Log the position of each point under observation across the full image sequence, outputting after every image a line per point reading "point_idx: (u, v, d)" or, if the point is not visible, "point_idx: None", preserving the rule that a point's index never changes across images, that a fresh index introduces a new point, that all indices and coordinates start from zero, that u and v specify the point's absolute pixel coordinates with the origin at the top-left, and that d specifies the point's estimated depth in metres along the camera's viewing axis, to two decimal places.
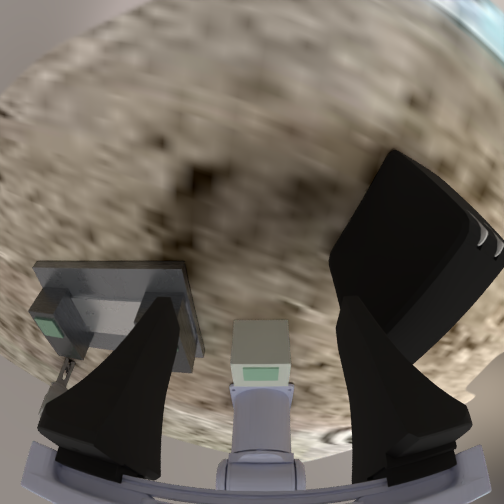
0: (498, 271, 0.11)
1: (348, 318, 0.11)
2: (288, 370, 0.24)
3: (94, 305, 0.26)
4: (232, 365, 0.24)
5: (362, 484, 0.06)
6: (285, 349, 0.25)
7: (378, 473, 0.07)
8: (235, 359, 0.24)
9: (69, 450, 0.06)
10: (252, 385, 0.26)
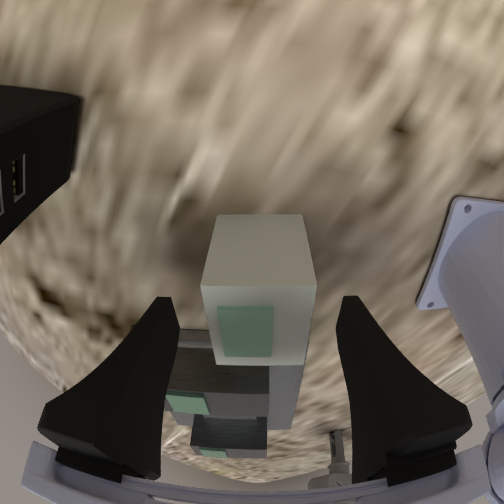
0: None
1: (348, 318, 0.11)
2: (232, 289, 0.10)
3: None
4: (221, 362, 0.13)
5: (362, 484, 0.06)
6: None
7: (378, 473, 0.07)
8: None
9: (69, 450, 0.06)
10: (303, 343, 0.12)
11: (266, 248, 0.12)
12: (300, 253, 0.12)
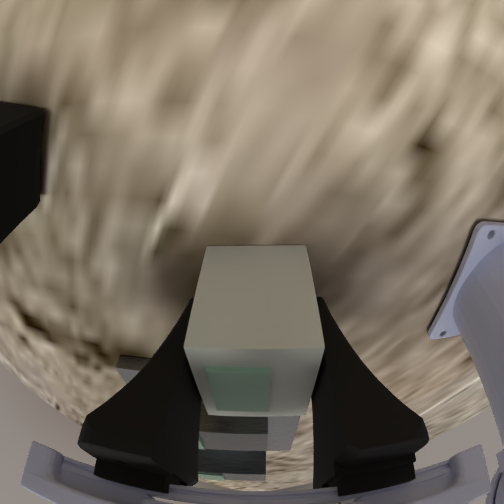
0: None
1: None
2: (222, 351, 0.08)
3: None
4: (214, 413, 0.11)
5: None
6: None
7: (331, 481, 0.07)
8: None
9: (109, 462, 0.06)
10: (306, 398, 0.10)
11: (263, 294, 0.10)
12: (305, 301, 0.10)
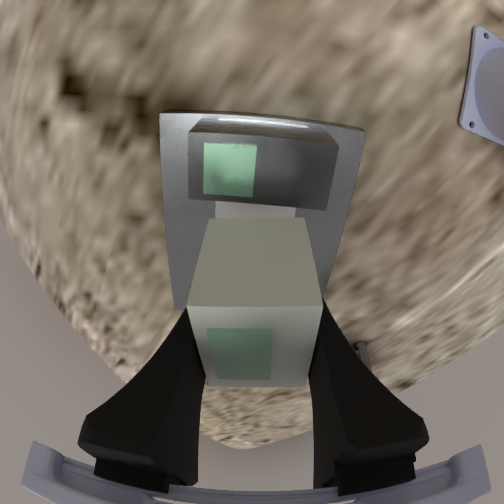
0: None
1: None
2: (223, 310, 0.09)
3: None
4: (214, 384, 0.12)
5: None
6: None
7: (331, 481, 0.07)
8: None
9: (109, 463, 0.06)
10: (305, 365, 0.11)
11: (263, 259, 0.10)
12: (303, 266, 0.10)
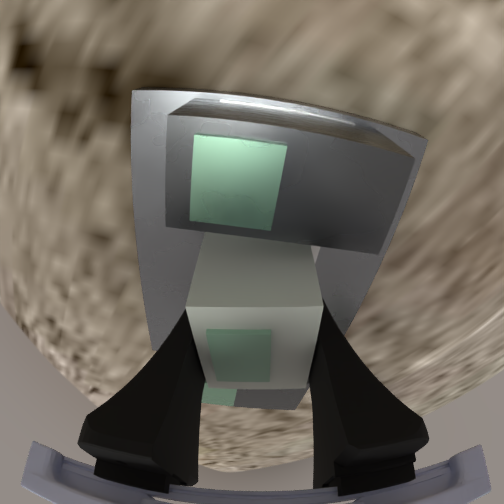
0: None
1: None
2: (223, 310, 0.09)
3: None
4: (214, 386, 0.11)
5: None
6: None
7: (331, 481, 0.07)
8: None
9: (110, 462, 0.06)
10: (306, 367, 0.10)
11: (263, 260, 0.10)
12: (303, 266, 0.10)
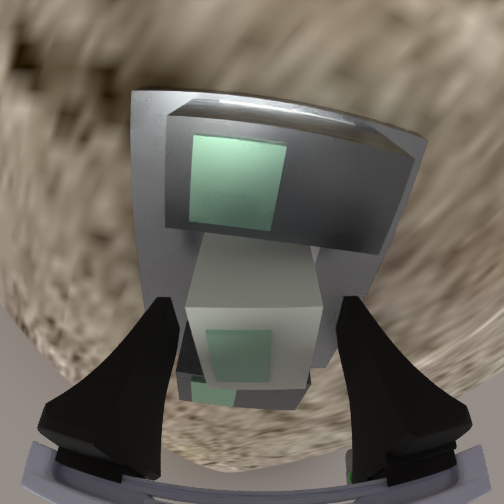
0: None
1: (348, 318, 0.11)
2: (222, 311, 0.09)
3: None
4: (214, 386, 0.11)
5: (362, 484, 0.06)
6: None
7: (378, 473, 0.07)
8: None
9: (69, 450, 0.06)
10: (305, 367, 0.10)
11: (263, 260, 0.10)
12: (303, 266, 0.10)
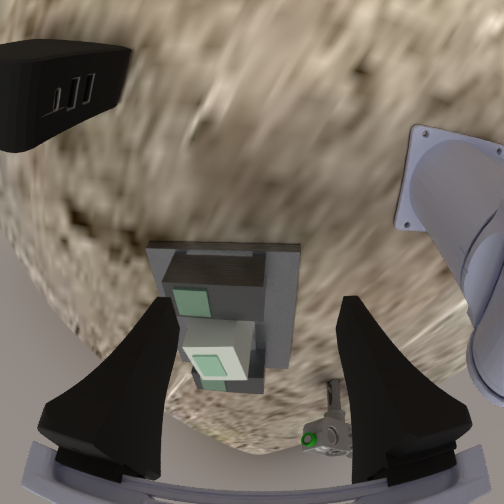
0: None
1: (348, 318, 0.11)
2: (196, 348, 0.22)
3: None
4: (205, 378, 0.24)
5: (362, 484, 0.06)
6: None
7: (378, 473, 0.07)
8: None
9: (69, 450, 0.06)
10: (241, 370, 0.23)
11: (215, 324, 0.23)
12: (231, 327, 0.22)
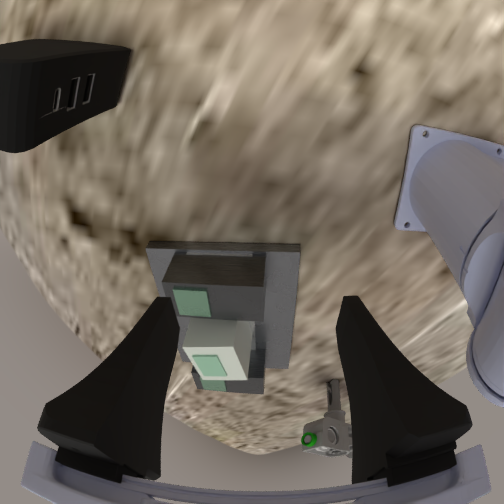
0: None
1: (348, 318, 0.11)
2: (196, 348, 0.22)
3: None
4: (205, 378, 0.24)
5: (362, 484, 0.06)
6: None
7: (378, 473, 0.07)
8: None
9: (69, 450, 0.06)
10: (241, 370, 0.23)
11: (215, 324, 0.23)
12: (231, 327, 0.22)
